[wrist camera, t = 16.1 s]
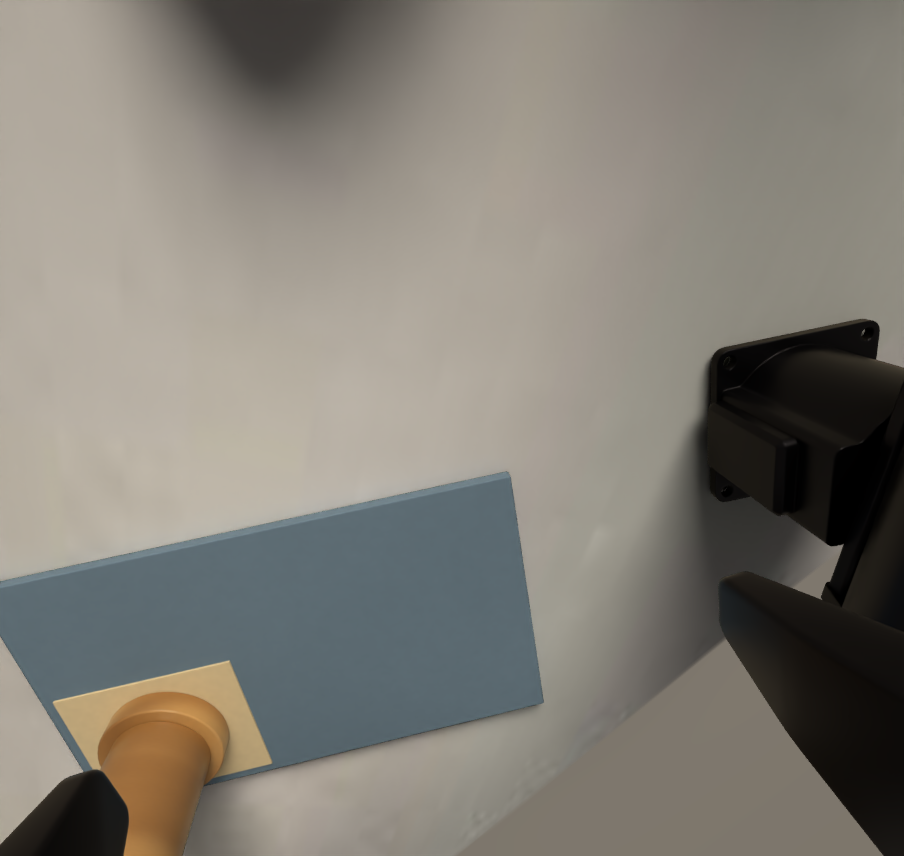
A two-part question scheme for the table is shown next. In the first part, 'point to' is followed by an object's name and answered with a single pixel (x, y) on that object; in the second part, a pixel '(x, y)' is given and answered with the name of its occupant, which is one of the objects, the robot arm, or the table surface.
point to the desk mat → (294, 627)
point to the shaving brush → (162, 766)
